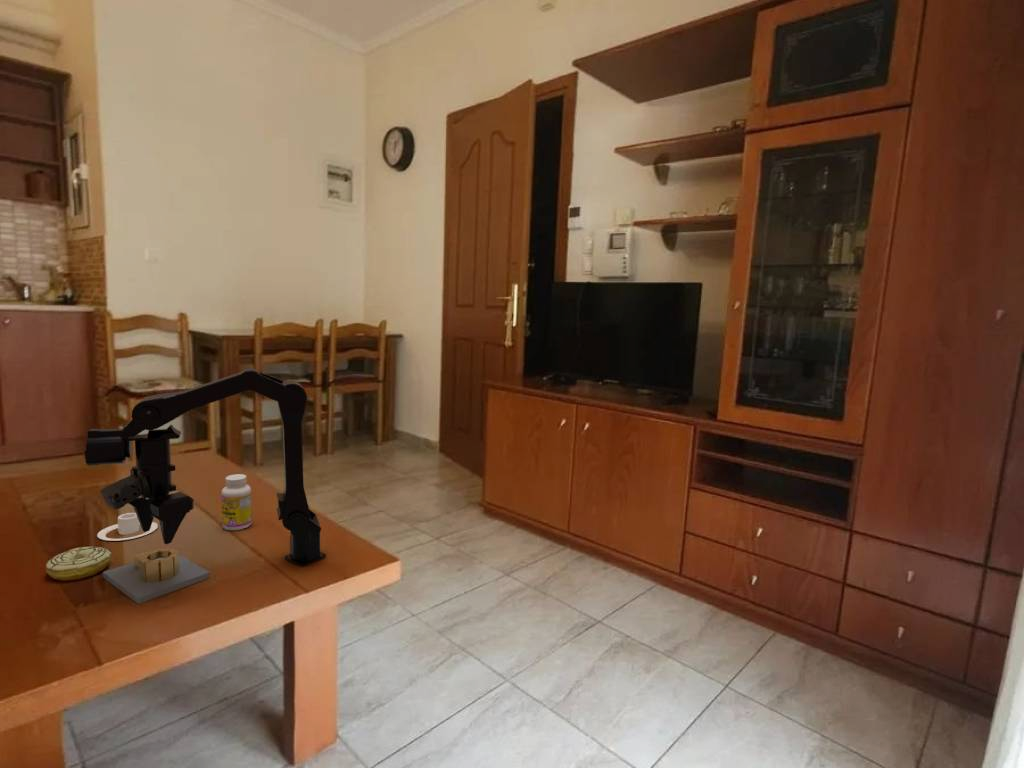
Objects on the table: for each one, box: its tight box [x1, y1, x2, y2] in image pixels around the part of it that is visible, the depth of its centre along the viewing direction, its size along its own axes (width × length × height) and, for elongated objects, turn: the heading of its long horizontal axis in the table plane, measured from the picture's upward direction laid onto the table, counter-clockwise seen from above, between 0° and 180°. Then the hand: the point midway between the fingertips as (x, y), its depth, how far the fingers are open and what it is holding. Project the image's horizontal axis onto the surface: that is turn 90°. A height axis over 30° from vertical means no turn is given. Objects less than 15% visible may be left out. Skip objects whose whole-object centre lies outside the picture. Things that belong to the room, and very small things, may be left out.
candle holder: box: [96, 512, 159, 542], centre depth 133 cm, size 12×12×4 cm
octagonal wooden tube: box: [139, 548, 180, 582], centre depth 111 cm, size 6×6×4 cm
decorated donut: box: [45, 546, 112, 582], centre depth 114 cm, size 10×11×4 cm
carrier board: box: [102, 551, 211, 605], centre depth 112 cm, size 16×13×4 cm
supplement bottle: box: [221, 473, 253, 531], centre depth 138 cm, size 7×7×13 cm
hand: (156, 537), depth 110 cm, fingers open, 9 cm apart
